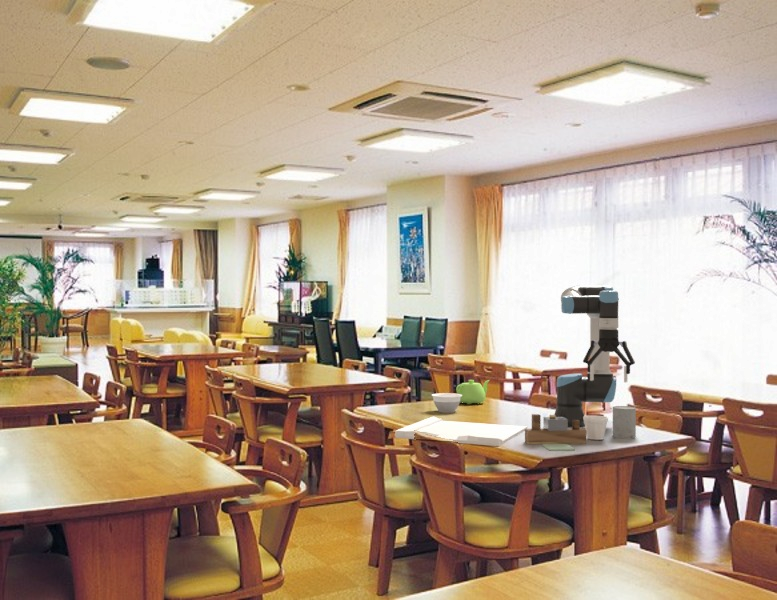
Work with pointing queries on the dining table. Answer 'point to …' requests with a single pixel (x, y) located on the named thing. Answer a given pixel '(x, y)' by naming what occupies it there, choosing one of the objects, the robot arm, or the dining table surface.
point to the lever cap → (555, 423)
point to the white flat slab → (462, 431)
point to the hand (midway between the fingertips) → (608, 381)
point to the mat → (557, 447)
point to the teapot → (472, 392)
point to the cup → (595, 426)
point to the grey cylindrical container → (624, 422)
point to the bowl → (446, 401)
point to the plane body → (554, 434)
